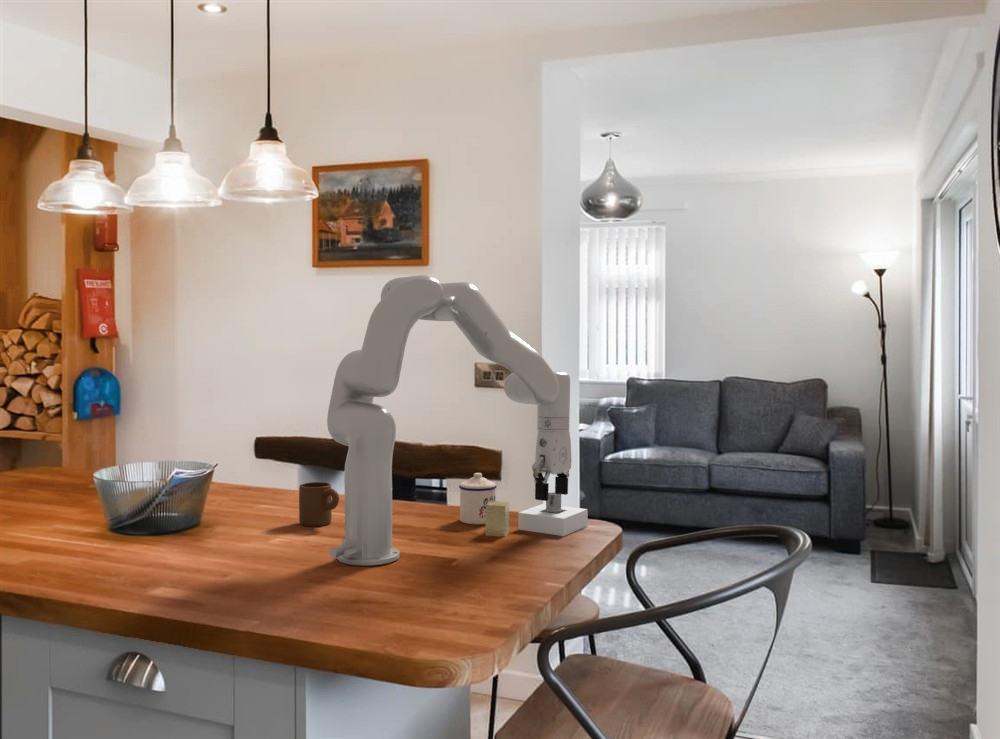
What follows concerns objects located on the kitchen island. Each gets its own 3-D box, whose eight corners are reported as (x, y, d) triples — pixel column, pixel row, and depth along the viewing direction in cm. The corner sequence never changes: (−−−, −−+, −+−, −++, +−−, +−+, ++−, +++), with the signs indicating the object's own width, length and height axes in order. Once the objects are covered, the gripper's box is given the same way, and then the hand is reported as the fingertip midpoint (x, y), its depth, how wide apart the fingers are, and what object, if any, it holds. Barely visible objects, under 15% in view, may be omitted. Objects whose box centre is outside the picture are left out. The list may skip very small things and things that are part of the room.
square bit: (505, 536, 195) (505, 505, 195) (485, 535, 196) (485, 505, 196) (508, 532, 200) (509, 501, 199) (489, 531, 201) (489, 501, 200)
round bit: (556, 530, 202) (556, 496, 201) (543, 528, 204) (543, 494, 203) (563, 527, 205) (564, 493, 204) (550, 525, 207) (550, 491, 206)
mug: (350, 525, 205) (350, 486, 205) (324, 531, 200) (324, 491, 199) (318, 518, 213) (317, 480, 213) (292, 524, 207) (292, 485, 207)
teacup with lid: (484, 526, 205) (484, 477, 204) (451, 522, 209) (451, 474, 209) (508, 517, 215) (509, 470, 215) (477, 513, 220) (477, 467, 219)
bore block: (564, 536, 196) (564, 518, 196) (518, 529, 202) (518, 512, 202) (587, 525, 206) (587, 509, 206) (543, 519, 212) (543, 503, 212)
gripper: (549, 428, 193) (548, 504, 194) (584, 422, 208) (582, 493, 209) (520, 426, 197) (519, 500, 198) (556, 420, 212) (554, 490, 213)
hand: (551, 496), depth 203 cm, fingers open, 9 cm apart
